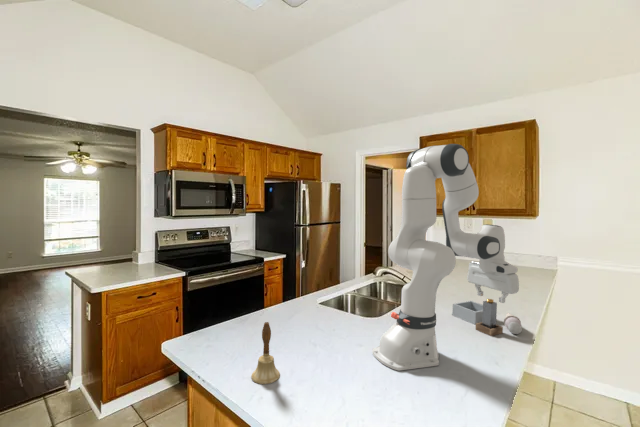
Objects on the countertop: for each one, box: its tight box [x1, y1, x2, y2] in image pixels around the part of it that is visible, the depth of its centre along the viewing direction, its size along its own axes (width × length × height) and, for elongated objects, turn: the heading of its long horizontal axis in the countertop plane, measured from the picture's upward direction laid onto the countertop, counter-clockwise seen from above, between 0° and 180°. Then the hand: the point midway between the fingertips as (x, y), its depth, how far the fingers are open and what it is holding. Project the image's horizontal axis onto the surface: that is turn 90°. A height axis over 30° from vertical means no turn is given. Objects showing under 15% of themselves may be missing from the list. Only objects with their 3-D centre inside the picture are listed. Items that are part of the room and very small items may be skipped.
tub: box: [451, 300, 483, 326], centre depth 141 cm, size 12×12×5 cm
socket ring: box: [475, 322, 504, 337], centre depth 126 cm, size 7×7×2 cm
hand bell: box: [250, 321, 281, 385], centre depth 91 cm, size 8×8×16 cm
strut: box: [482, 298, 498, 329], centre depth 126 cm, size 4×4×13 cm
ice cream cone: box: [503, 312, 522, 335], centre depth 129 cm, size 6×6×15 cm
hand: (490, 298), depth 126 cm, fingers open, 8 cm apart
